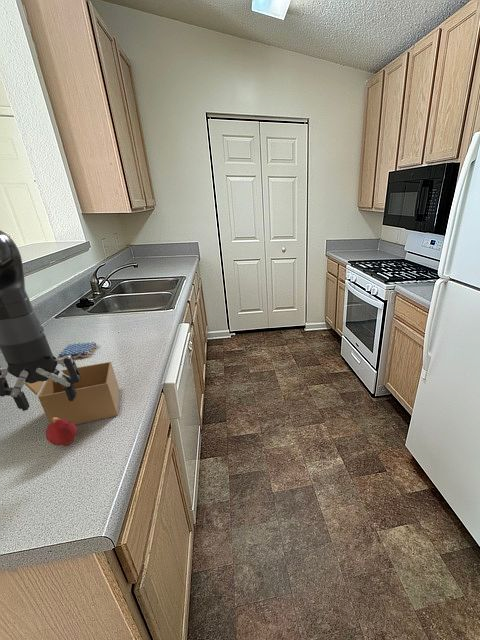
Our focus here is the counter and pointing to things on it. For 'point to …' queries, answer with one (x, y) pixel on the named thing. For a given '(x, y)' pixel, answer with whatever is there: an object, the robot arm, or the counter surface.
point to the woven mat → (78, 350)
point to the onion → (61, 432)
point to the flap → (34, 386)
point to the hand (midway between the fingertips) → (49, 404)
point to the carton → (83, 396)
